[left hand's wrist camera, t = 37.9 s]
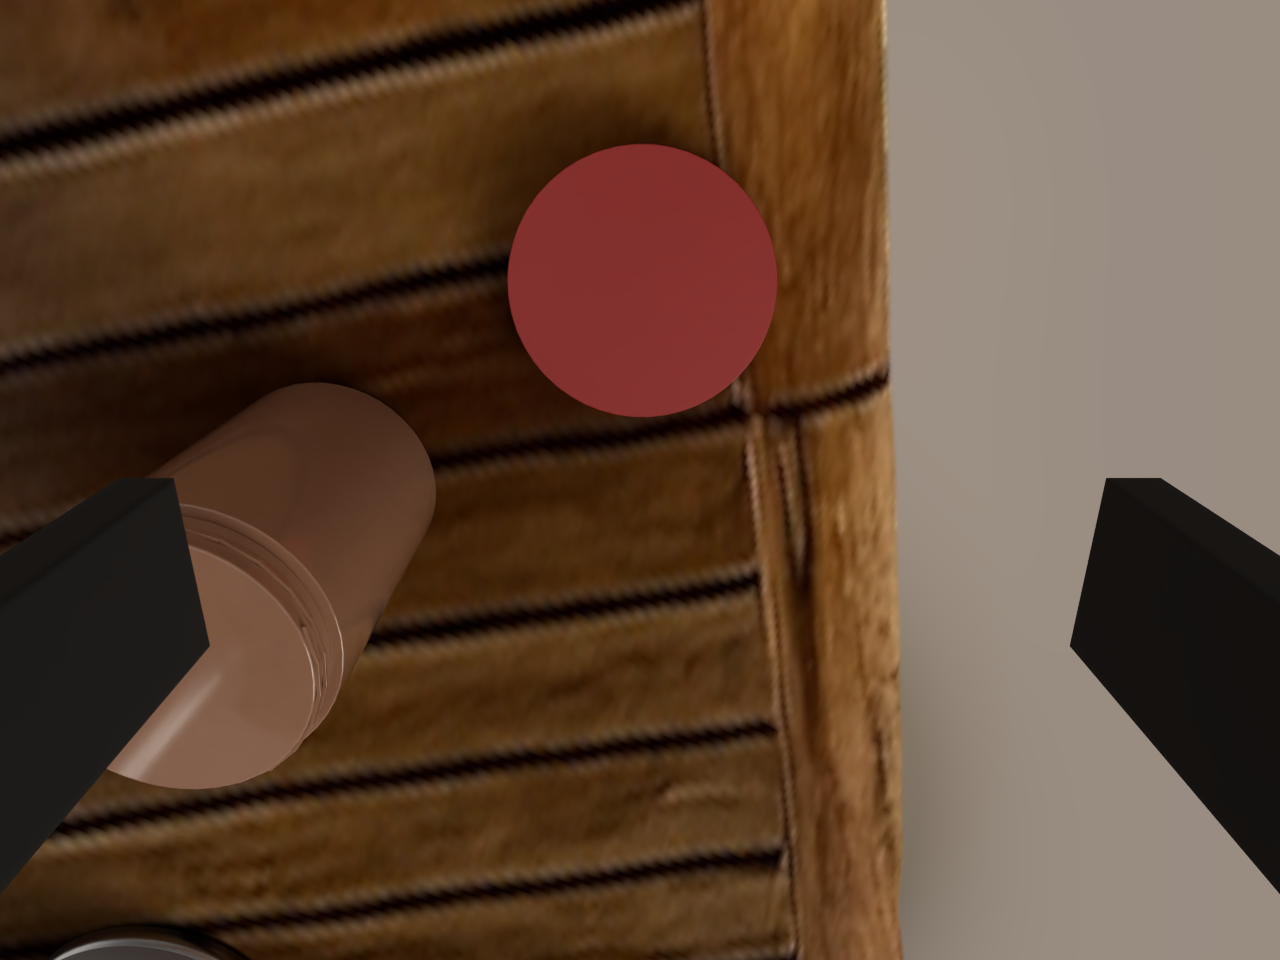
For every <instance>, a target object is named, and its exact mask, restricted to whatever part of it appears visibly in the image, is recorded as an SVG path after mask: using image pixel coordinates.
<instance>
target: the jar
mask: <svg viewBox="0 0 1280 960" xmlns="http://www.w3.org/2000/svg"><path fill="white" fill-rule="evenodd" d="M144 478H174V482H175V486H176V491H177V495H178V500H179V505H180V509H181V514H182V519H183V523H184V528H185V532H186V537H187V542H188V546H189V551H190V555H191V560H192V565H193V569H194V574H195V578H196V583H197V588H198V592H199V597H200V601H201V606H202V611H203V615H204V620H205V625H206V629H207V634H208V638H209V643H210V647H209V648H208V649H207V650H206V651H205V653H204V654H203V655H202V656H201V657H200V659H199V660H198V661H197V662H196V663H195V664H194V666H193V667H192V668H191V669H190V670H189V672H188V673H187V674H186V675H185V676H184V677H183V679H182V680H181V681H180V682H179V683H178V685H177V686H176V687H175V688H174V689H173V690H172V692H171V693H170V694H169V695H168V696H167V698H166V699H165V700H164V701H163V702H162V703H161V705H160V706H159V707H158V708H157V709H156V711H155V712H154V713H153V714H152V715H151V716H150V718H149V719H148V720H147V721H146V722H145V724H144V725H143V726H142V727H141V728H140V729H139V731H138V732H137V733H136V734H135V735H134V737H133V738H132V739H131V740H130V741H129V742H128V744H127V745H126V746H125V747H124V748H123V750H122V751H121V752H120V753H119V754H118V755H117V757H116V758H115V759H114V760H113V761H112V762H111V764H110V765H109V766H108V767H107V768H106V769H108V770H110V771H113V772H115V773H117V774H120V775H122V776H124V777H127V778H130V779H134V780H137V781H140V782H143V783H147V784H152V785H157V786H161V787H169V788H177V789H207V788H217V787H222V786H227V785H232V784H236V783H241V782H243V781H246V780H248V779H250V778H253V777H255V776H258V775H260V774H262V773H265V772H267V771H271V770H272V769H274V768H275V767H276V766H277V765H279V764H280V763H281V762H282V761H284V760H285V759H286V758H287V757H289V756H290V755H291V754H292V753H294V752H296V750H297V749H298V747H299V746H300V744H301V743H302V741H303V740H304V739H305V738H306V737H307V736H308V735H309V734H311V733H312V732H313V731H314V730H315V729H316V728H317V727H318V726H319V725H320V723H321V722H322V721H323V720H324V718H325V717H326V716H327V715H328V713H329V711H330V709H331V708H332V706H333V704H334V702H335V701H336V699H337V697H338V695H339V693H340V691H341V689H342V688H343V686H344V684H345V682H346V680H347V678H348V677H349V675H350V673H351V671H352V669H353V667H354V665H355V664H356V662H357V660H358V658H359V656H360V654H361V653H362V651H363V649H364V647H365V645H366V643H367V641H368V640H369V638H370V636H371V634H372V632H373V630H374V629H375V627H376V625H377V623H378V621H379V619H380V617H381V616H382V614H383V612H384V610H385V608H386V606H387V605H388V603H389V601H390V599H391V597H392V595H393V593H394V592H395V590H396V588H397V586H398V584H399V582H400V581H401V579H402V577H403V575H404V573H405V571H406V569H407V568H408V566H409V564H410V562H411V560H412V558H413V557H414V555H415V553H416V551H417V549H418V547H419V545H420V544H421V542H422V540H423V538H424V536H425V534H426V533H427V531H428V529H429V526H430V524H431V521H432V518H433V514H434V509H435V503H436V485H435V477H434V473H433V468H432V465H431V462H430V460H429V457H428V454H427V452H426V450H425V449H424V447H423V445H422V443H421V441H420V440H419V438H418V437H417V435H416V434H415V432H414V431H413V430H412V429H411V428H410V426H409V425H408V424H407V423H406V422H405V421H404V420H403V419H402V418H401V417H400V416H399V415H398V414H397V413H395V412H394V411H393V410H392V409H391V408H389V407H388V406H386V405H385V404H383V403H382V402H381V401H379V400H377V399H375V398H373V397H371V396H370V395H368V394H365V393H363V392H360V391H358V390H355V389H352V388H349V387H345V386H341V385H336V384H329V383H302V384H295V385H291V386H287V387H283V388H280V389H278V390H275V391H273V392H270V393H268V394H267V395H265V396H263V397H262V398H260V399H258V400H257V401H255V402H254V403H252V404H251V405H249V406H248V407H247V408H245V409H244V410H242V411H241V412H239V413H238V414H236V415H235V416H233V417H232V418H230V419H229V420H227V421H226V422H225V423H223V424H222V425H220V426H219V427H217V428H216V429H214V430H213V431H211V432H210V433H208V434H207V435H206V436H204V437H203V438H201V439H200V440H198V441H197V442H195V443H194V444H192V445H191V446H189V447H188V448H187V449H185V450H184V451H182V452H181V453H179V454H178V455H176V456H175V457H173V458H172V459H170V460H169V461H168V462H166V463H165V464H163V465H162V466H160V467H159V468H157V469H156V470H154V471H153V472H151V473H150V474H149V475H147V476H146V477H144Z"/></svg>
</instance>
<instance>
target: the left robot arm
mask: <svg viewBox="0 0 1280 960" xmlns="http://www.w3.org/2000/svg"><path fill="white" fill-rule="evenodd" d="M209 647H210V643H209V638H208V634H207V629H206V625H205V620H204V615H203V611H202V606H201V601H200V597H199V592H198V588H197V583H196V578H195V574H194V569H193V565H192V560H191V555H190V551H189V546H188V542H187V537H186V532H185V528H184V523H183V519H182V514H181V509H180V505H179V500H178V495H177V491H176V486H175V482H174V478H119V479H117V480H116V481H114V482H113V483H111V484H110V485H108V486H106V487H105V488H103V489H102V490H100V491H99V492H97V493H96V494H94V495H93V496H91V497H90V498H88V499H87V500H85V501H83V502H82V503H80V504H79V505H77V506H76V507H74V508H73V509H71V510H70V511H68V512H67V513H65V514H64V515H62V516H60V517H59V518H57V519H56V520H54V521H53V522H51V523H50V524H48V525H47V526H45V527H44V528H42V529H41V530H39V531H37V532H36V533H34V534H33V535H31V536H30V537H28V538H27V539H25V540H24V541H22V542H21V543H19V544H18V545H16V546H15V547H13V548H11V549H10V550H8V551H7V552H5V553H4V554H2V555H1V556H0V894H1V892H2V891H3V890H4V889H5V888H6V887H7V885H8V884H9V883H10V882H11V881H12V879H13V878H14V877H15V876H16V875H17V874H18V872H19V871H20V870H21V869H22V868H23V866H24V865H25V864H26V863H27V862H28V861H29V859H30V858H31V857H32V856H33V855H34V853H35V852H36V851H37V850H38V849H39V848H40V846H41V845H42V844H43V843H44V842H45V840H46V839H47V838H48V837H49V836H50V835H51V833H52V832H53V831H54V830H55V829H56V827H57V826H58V825H59V824H60V823H61V822H62V820H63V819H64V818H65V817H66V816H67V814H68V813H69V812H70V811H71V810H72V809H73V807H74V806H75V805H76V804H77V803H78V801H79V800H80V799H81V798H82V797H83V796H84V794H85V793H86V792H87V791H88V790H89V788H90V787H91V786H92V785H93V784H94V783H95V781H96V780H97V779H98V778H99V777H100V775H101V774H102V773H103V772H104V771H105V770H106V768H107V767H108V766H109V765H110V764H111V762H112V761H113V760H114V759H115V758H116V757H117V755H118V754H119V753H120V752H121V751H122V750H123V748H124V747H125V746H126V745H127V744H128V742H129V741H130V740H131V739H132V738H133V737H134V735H135V734H136V733H137V732H138V731H139V729H140V728H141V727H142V726H143V725H144V724H145V722H146V721H147V720H148V719H149V718H150V716H151V715H152V714H153V713H154V712H155V711H156V709H157V708H158V707H159V706H160V705H161V703H162V702H163V701H164V700H165V699H166V698H167V696H168V695H169V694H170V693H171V692H172V690H173V689H174V688H175V687H176V686H177V685H178V683H179V682H180V681H181V680H182V679H183V677H184V676H185V675H186V674H187V673H188V672H189V670H190V669H191V668H192V667H193V666H194V664H195V663H196V662H197V661H198V660H199V659H200V657H201V656H202V655H203V654H204V653H205V651H206V650H207V649H208V648H209ZM1070 647H1071V648H1072V649H1073V650H1074V651H1075V653H1076V654H1077V655H1078V656H1079V657H1080V659H1081V660H1082V661H1083V662H1084V663H1085V664H1086V666H1087V667H1088V668H1089V669H1090V670H1091V671H1092V673H1093V674H1094V675H1095V676H1096V677H1097V679H1098V680H1099V681H1100V682H1101V683H1102V685H1103V686H1104V687H1105V688H1106V689H1107V690H1108V691H1109V693H1110V694H1111V695H1112V696H1113V697H1114V699H1115V700H1116V701H1117V702H1118V703H1119V705H1120V706H1121V707H1122V708H1123V709H1124V711H1125V712H1126V713H1127V714H1128V715H1129V716H1130V718H1131V719H1132V720H1133V721H1134V722H1135V724H1136V725H1137V726H1138V727H1139V728H1140V729H1141V731H1142V732H1143V733H1144V734H1145V735H1146V737H1147V738H1148V739H1149V740H1150V741H1151V742H1152V744H1153V745H1154V746H1155V747H1156V748H1157V749H1158V751H1159V752H1160V753H1161V754H1162V755H1163V757H1164V758H1165V759H1166V760H1167V761H1168V762H1169V764H1170V765H1171V766H1172V767H1173V768H1174V770H1175V771H1176V772H1177V773H1178V774H1179V775H1180V777H1181V778H1182V779H1183V780H1184V781H1185V783H1186V784H1187V785H1188V786H1189V787H1190V788H1191V790H1192V791H1193V792H1194V793H1195V794H1196V796H1197V797H1198V798H1199V799H1200V800H1201V801H1202V803H1203V804H1204V805H1205V806H1206V807H1207V809H1208V810H1209V811H1210V812H1211V813H1212V814H1213V816H1214V817H1215V818H1216V819H1217V820H1218V822H1219V823H1220V824H1221V825H1222V826H1223V827H1224V829H1225V830H1226V831H1227V832H1228V833H1229V835H1230V836H1231V837H1232V838H1233V839H1234V840H1235V842H1236V843H1237V844H1238V845H1239V846H1240V848H1241V849H1242V850H1243V851H1244V852H1245V853H1246V855H1247V856H1248V857H1249V858H1250V859H1251V860H1252V862H1253V863H1254V864H1255V865H1256V866H1257V868H1258V869H1259V870H1260V871H1261V872H1262V874H1263V875H1264V876H1265V877H1266V878H1267V879H1268V881H1269V882H1270V883H1271V884H1272V885H1273V886H1274V888H1275V889H1276V890H1277V891H1278V892H1279V894H1280V556H1279V555H1278V554H1276V553H1275V552H1273V551H1272V550H1270V549H1269V548H1267V547H1265V546H1264V545H1262V544H1261V543H1259V542H1258V541H1256V540H1255V539H1253V538H1252V537H1250V536H1249V535H1247V534H1246V533H1244V532H1243V531H1241V530H1239V529H1238V528H1236V527H1235V526H1233V525H1232V524H1230V523H1229V522H1227V521H1226V520H1224V519H1223V518H1221V517H1220V516H1218V515H1216V514H1215V513H1213V512H1212V511H1210V510H1209V509H1207V508H1206V507H1204V506H1203V505H1201V504H1200V503H1198V502H1197V501H1195V500H1193V499H1192V498H1190V497H1189V496H1187V495H1186V494H1184V493H1183V492H1181V491H1180V490H1178V489H1177V488H1175V487H1174V486H1172V485H1170V484H1169V483H1167V482H1166V481H1164V480H1163V479H1161V478H1106V482H1105V486H1104V491H1103V495H1102V500H1101V505H1100V509H1099V514H1098V519H1097V523H1096V528H1095V533H1094V537H1093V542H1092V546H1091V551H1090V555H1089V560H1088V565H1087V569H1086V574H1085V578H1084V583H1083V588H1082V592H1081V597H1080V602H1079V606H1078V611H1077V615H1076V620H1075V625H1074V629H1073V634H1072V638H1071V643H1070ZM48 960H245V959H244V958H242V957H241V956H239V955H237V954H236V953H234V952H233V951H231V950H229V949H227V948H225V947H223V946H221V945H219V944H217V943H215V942H212V941H210V940H208V939H205V938H202V937H199V936H196V935H193V934H190V933H186V932H182V931H178V930H173V929H167V928H161V927H151V926H122V927H114V928H107V929H102V930H98V931H94V932H91V933H88V934H85V935H83V936H80V937H78V938H76V939H74V940H72V941H70V942H68V943H66V944H65V945H64V946H62V947H61V948H59V949H58V950H57V951H56V952H55V953H54V954H53V955H52V956H51V957H50V958H49V959H48Z"/></svg>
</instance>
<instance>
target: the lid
mask: <svg viewBox="0 0 1280 960" xmlns="http://www.w3.org/2000/svg"><path fill="white" fill-rule="evenodd" d="M507 280H508V297H509V303H510V308H511V314H512V317H513V320H514V323H515V327H516V330H517V332H518V334H519V336H520V339H521V341H522V343H523V345H524V347H525V349H526V350H527V352H528V353H529V355H530V357H531V358H532V360H533V361H534V362H535V364H536V365H537V366H538V367H539V369H540V370H541V371H542V372H543V373H544V375H545V376H547V377H548V378H549V379H550V380H551V381H552V382H553V383H554V384H555V385H556V386H557V387H559V388H560V389H561V390H563V391H564V392H565V393H567V394H568V395H570V396H571V397H573V398H575V399H577V400H578V401H580V402H582V403H584V404H586V405H588V406H591V407H593V408H596V409H598V410H601V411H605V412H608V413H612V414H616V415H623V416H631V417H653V416H662V415H668V414H672V413H676V412H680V411H684V410H686V409H689V408H691V407H694V406H696V405H699V404H701V403H702V402H704V401H706V400H708V399H710V398H712V397H713V396H715V395H716V394H718V393H719V392H720V391H722V390H723V389H725V388H726V387H727V386H728V385H729V384H731V383H732V382H733V381H734V380H735V379H736V378H737V377H738V376H739V375H740V374H741V373H742V372H743V370H744V369H745V368H746V367H747V366H748V364H749V363H750V362H751V360H752V359H753V357H754V356H755V354H756V353H757V351H758V350H759V348H760V346H761V344H762V342H763V340H764V338H765V336H766V334H767V331H768V328H769V325H770V322H771V319H772V316H773V312H774V307H775V302H776V293H777V267H776V259H775V254H774V249H773V244H772V241H771V238H770V235H769V232H768V229H767V227H766V225H765V223H764V221H763V219H762V217H761V215H760V213H759V211H758V209H757V208H756V206H755V205H754V203H753V202H752V200H751V199H750V197H749V196H748V195H747V193H746V192H745V191H744V190H743V189H742V188H741V187H740V186H739V185H738V183H737V182H736V181H735V180H733V179H732V178H731V177H730V176H729V175H727V174H726V173H725V172H724V171H723V170H721V169H720V168H718V167H717V166H715V165H714V164H712V163H710V162H709V161H707V160H706V159H703V158H701V157H699V156H697V155H695V154H692V153H690V152H687V151H684V150H681V149H677V148H674V147H670V146H664V145H658V144H627V145H620V146H615V147H611V148H608V149H604V150H600V151H597V152H595V153H593V154H590V155H588V156H586V157H584V158H581V159H579V160H578V161H576V162H575V163H573V164H571V165H570V166H568V167H566V168H565V169H564V170H562V171H561V172H560V173H559V174H557V175H556V176H555V177H554V178H553V179H551V180H550V181H549V182H548V183H547V185H546V186H545V187H544V188H543V189H542V190H541V191H540V192H539V193H538V194H537V196H536V197H535V199H534V200H533V202H532V203H531V204H530V206H529V207H528V209H527V211H526V212H525V214H524V216H523V218H522V220H521V222H520V224H519V226H518V229H517V232H516V235H515V238H514V240H513V243H512V248H511V253H510V257H509V265H508V277H507Z"/></svg>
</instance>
